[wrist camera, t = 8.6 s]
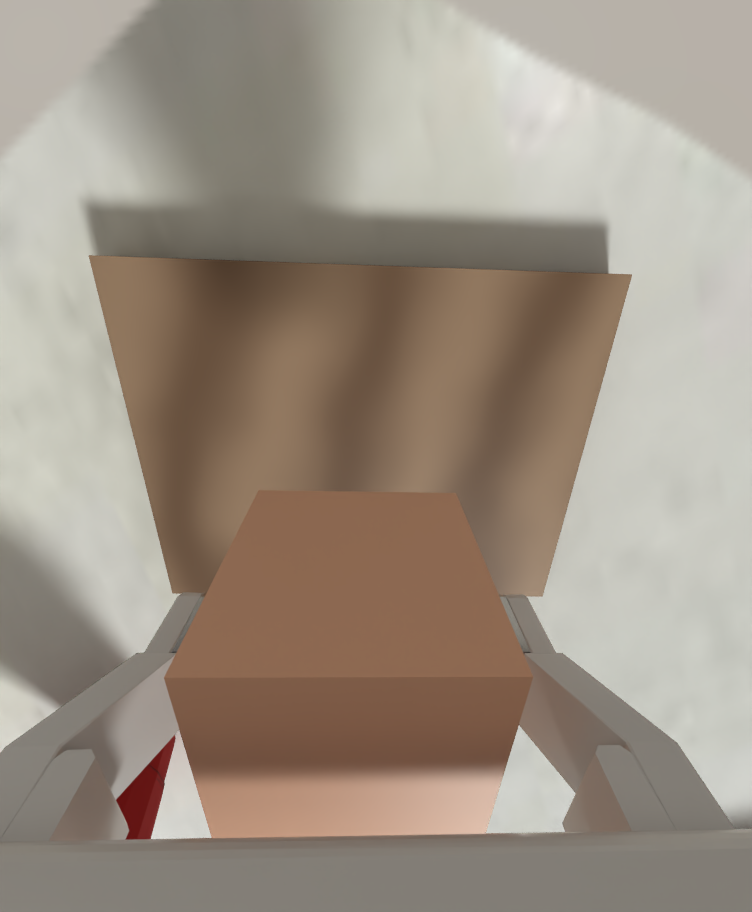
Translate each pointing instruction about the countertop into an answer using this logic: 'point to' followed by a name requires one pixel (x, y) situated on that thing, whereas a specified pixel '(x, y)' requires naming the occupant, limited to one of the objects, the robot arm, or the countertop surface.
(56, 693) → the countertop surface
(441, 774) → the cube
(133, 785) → the plastic cup
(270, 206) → the countertop surface
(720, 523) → the countertop surface
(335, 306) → the walnut board
